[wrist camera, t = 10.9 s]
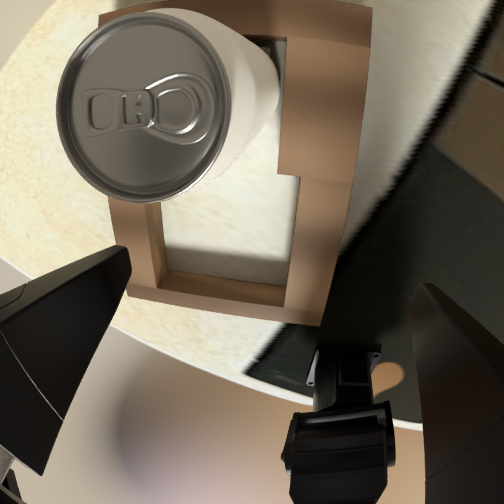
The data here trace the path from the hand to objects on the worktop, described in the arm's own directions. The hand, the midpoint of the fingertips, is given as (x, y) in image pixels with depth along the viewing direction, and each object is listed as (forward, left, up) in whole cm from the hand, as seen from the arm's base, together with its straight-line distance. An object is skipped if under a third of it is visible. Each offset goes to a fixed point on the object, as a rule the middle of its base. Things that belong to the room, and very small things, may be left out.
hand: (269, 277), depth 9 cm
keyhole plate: (-1, +4, -13) cm, 13 cm away
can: (+5, +4, -13) cm, 14 cm away
